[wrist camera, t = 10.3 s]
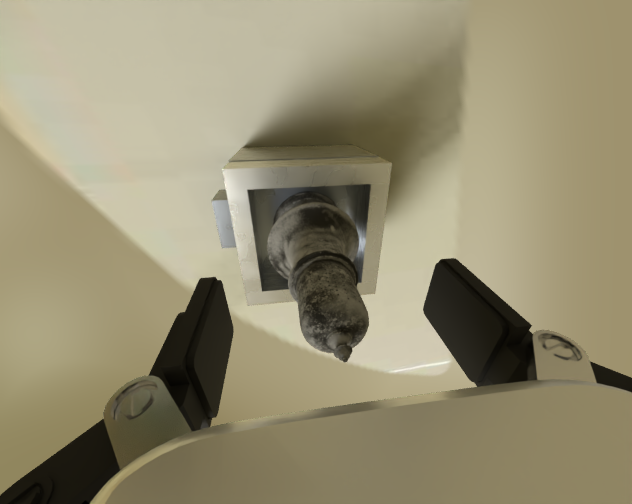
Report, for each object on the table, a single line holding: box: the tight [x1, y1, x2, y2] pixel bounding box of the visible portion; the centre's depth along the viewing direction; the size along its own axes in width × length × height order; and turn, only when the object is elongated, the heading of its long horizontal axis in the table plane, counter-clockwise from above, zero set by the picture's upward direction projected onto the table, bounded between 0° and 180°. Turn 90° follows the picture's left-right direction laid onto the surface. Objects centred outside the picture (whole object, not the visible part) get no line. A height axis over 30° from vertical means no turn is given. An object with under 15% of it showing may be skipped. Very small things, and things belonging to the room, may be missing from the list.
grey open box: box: [212, 145, 392, 306], centre depth 22 cm, size 13×12×10 cm
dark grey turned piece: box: [267, 191, 369, 362], centre depth 14 cm, size 6×6×12 cm
